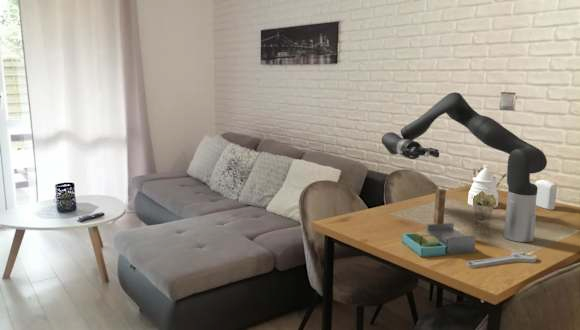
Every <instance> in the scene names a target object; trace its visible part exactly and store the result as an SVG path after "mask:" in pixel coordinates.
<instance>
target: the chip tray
mask: <svg viewBox="0 0 580 330" xmlns="http://www.w3.org/2000/svg"><path fill="white" fill-rule="evenodd" d="M414 237H415V232H411V233H402V234H401V243H402V244H404V245H405V246H406V247H407V248H409V249H410V250H411V251H412V252H414V253H415V254H416V255H418V256H419V257H420V258H425V257H426V258H428V257H437V256H439V257H440V256H447V255H446V250H447V246H445V245H444V244H442V243H441V242H439V246H437V247H424V248H422V247H421V246H420V245H418V244H417V243H416V242H414Z"/></svg>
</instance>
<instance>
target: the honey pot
mask: <svg viewBox="0 0 580 330" xmlns="http://www.w3.org/2000/svg"><path fill="white" fill-rule="evenodd" d="M483 168H484V169H481V170H480V171H479V173H477V175H476V176H474V177H472V181H473V183H472V184H471V187H470V189H469V191H468V195H467V197H468V198H467V204H468V205H470V206H472V207H474V206H473V198H474V196H476V195H477V194H479V193H480V192H481V191H483V192H484V193H485V194H486V195H494V197H495V200H496V206H495V208H497V207H498V204H499V193H498V187H497V185H496V183H497V180H496V179H495V178H494V177H493V174H492V172H491V171H490V170H489V169H490V165H489V164H484V165H483Z"/></svg>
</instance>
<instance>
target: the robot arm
mask: <svg viewBox="0 0 580 330" xmlns="http://www.w3.org/2000/svg"><path fill="white" fill-rule="evenodd" d="M444 114H446V115H447V116H448V117H449V118H451V119H452V120H453V121H455V122H457V123H459V124H460V125H461V126H463V127H465V128H466V129H467V130H469V132H470V133H471V134H472V135H473V136H475V138H477V140H479V141H480V142H482V143H483V144H484V145H486V146H488V147H490V148H492V149H495V150H497V151H501V152H503V153H506V154H509V156H508V158H507V171H506V172H507V173H506V183H507V186H508V189H507V198H506V209H505V210H506V211H505V217H504V218H505V220H504V227H503V229H504V230H503V237H504V238H505V239H506V240H507V239H508V240H510V241H514V242H519V243H528V242H534V237H535V228H536V220H537V216H536V214H535V213H536V206H537V205H536V198H537V190H538V188H537V186H536V185H535V183H532V182H531V181H530V180H531V179H530V178H531V175H533V174H538V173H540V172H542V171H543V170H545V168H546V167H547V164H548V160H547V156H546V155H545V153H544V152H543V151H542V150H541V149H540V148H538V147H536V146H534V145H532V144H530V143H529V142H527V141H525V140H523V139H522V138H520V137H519V136H517V135H515V134H514V133H513V132H511V131H510V130H509V129H507V127H504V126H503V125H502V124H501V123H499V122H498V121H496V120H495V119H493V118H492V117H489V116H486V115H482V114H480V113H478V112H477V111H476V110H475V109H474V108H473V107H471V106H470V104H469V103H468V102H467V101H466V99H465V98H464V96H463V95H462V94H461V93H460V92H451V93H448V94H447V95H445V96H444V97H443V98H441V99H440V100H438V102H437V103H435V104H434V105H433V106H432V107H431V108H429V109H428V110H427V111H425V113H424V114H422V115H420V117H418V118H417V119H415V120H414V121H412V122H411V123H409V124H407V125H405V126H404V127H402V128H401V129H400V134H401V136H400V135H399V134H397V133H396V132H393V131H389V132H386V133H385V134H383V136H382V137H381V143H382V145H383V146H384V148H386V150H387V151H388V153H389V154H390V155H400V156H401V157H404V158H407V159H410V160H416V159H419V158H420V157H425V158H428V157H434V158H439V157H440V152H439V149H437V148H433V147H424V146H422V145H421V143H419V142H418V141H415V139H417V138H419V137H421V136H422V135H424V134H425V133H426V132H427V131H428V130H429V129H430V127H431V126H432V124H433V123H434V121H436V120H437V119H438V118H439V117H440V116H442V115H444Z"/></svg>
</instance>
